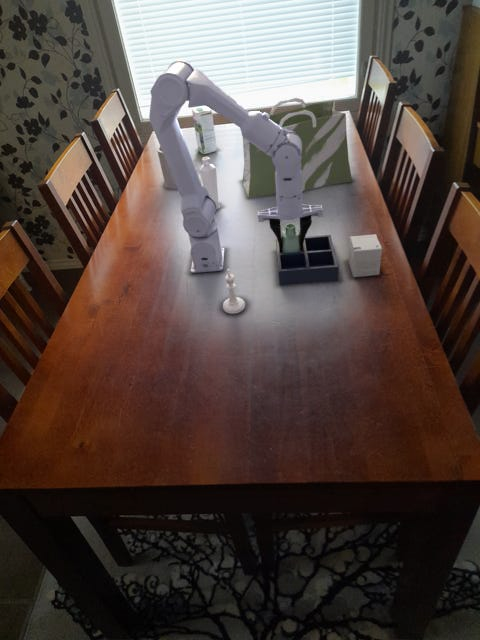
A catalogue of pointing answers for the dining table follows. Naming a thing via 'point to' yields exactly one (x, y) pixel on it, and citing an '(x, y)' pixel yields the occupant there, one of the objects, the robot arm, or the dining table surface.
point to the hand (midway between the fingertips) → (291, 244)
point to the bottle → (290, 239)
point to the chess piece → (232, 297)
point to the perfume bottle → (209, 179)
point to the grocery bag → (303, 149)
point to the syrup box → (204, 130)
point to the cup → (166, 170)
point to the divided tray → (308, 262)
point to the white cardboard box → (365, 255)
